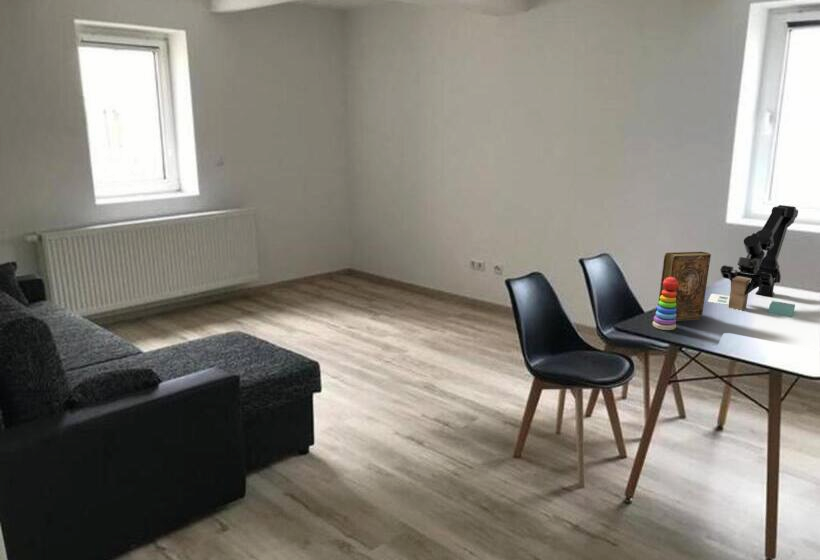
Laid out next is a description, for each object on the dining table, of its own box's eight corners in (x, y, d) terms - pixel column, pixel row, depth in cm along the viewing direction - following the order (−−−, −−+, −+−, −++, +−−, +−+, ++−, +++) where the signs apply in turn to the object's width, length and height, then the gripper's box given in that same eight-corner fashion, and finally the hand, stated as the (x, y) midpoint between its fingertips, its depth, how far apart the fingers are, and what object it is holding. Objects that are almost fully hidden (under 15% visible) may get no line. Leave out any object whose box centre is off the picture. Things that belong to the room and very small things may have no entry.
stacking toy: (673, 332, 231) (680, 281, 226) (650, 328, 235) (656, 278, 230) (677, 326, 237) (684, 276, 232) (654, 322, 241) (661, 273, 236)
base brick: (771, 307, 261) (772, 300, 261) (793, 311, 257) (795, 304, 256) (768, 312, 255) (769, 305, 254) (791, 316, 251) (792, 309, 250)
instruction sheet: (711, 293, 280) (711, 293, 280) (737, 297, 275) (737, 296, 275) (707, 301, 268) (707, 301, 268) (734, 305, 263) (734, 305, 263)
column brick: (733, 304, 264) (737, 276, 260) (746, 307, 260) (750, 279, 257) (728, 307, 261) (732, 278, 257) (741, 310, 257) (745, 281, 254)
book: (695, 314, 251) (703, 251, 244) (704, 319, 246) (713, 254, 239) (656, 316, 248) (664, 252, 241) (664, 321, 242) (673, 256, 236)
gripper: (725, 245, 263) (710, 276, 259) (775, 253, 250) (760, 286, 246) (730, 261, 271) (715, 292, 266) (779, 270, 258) (764, 302, 253)
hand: (738, 292), depth 258 cm, fingers closed on column brick, 5 cm apart
